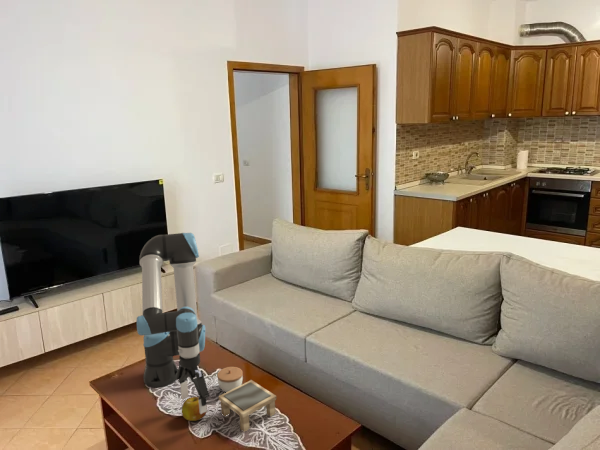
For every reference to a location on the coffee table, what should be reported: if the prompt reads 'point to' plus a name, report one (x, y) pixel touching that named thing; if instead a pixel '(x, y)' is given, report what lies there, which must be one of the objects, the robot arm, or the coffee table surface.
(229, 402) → the stool
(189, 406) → the fruit
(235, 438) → the coffee table surface
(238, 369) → the lidded jar
